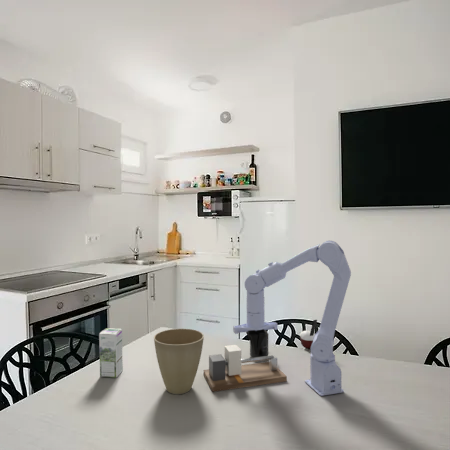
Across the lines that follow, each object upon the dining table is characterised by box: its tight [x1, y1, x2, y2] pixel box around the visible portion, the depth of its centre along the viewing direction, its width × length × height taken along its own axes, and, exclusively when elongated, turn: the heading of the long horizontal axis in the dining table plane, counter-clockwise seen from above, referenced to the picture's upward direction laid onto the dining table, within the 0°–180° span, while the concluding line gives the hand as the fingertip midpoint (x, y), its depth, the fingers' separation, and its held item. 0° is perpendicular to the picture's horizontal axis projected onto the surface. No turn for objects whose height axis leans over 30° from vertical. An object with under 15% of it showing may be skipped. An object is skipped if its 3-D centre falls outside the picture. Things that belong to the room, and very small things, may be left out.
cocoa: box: [299, 319, 318, 350], centre depth 141 cm, size 10×6×12 cm, turn 177°
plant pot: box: [153, 328, 205, 395], centre depth 108 cm, size 15×15×16 cm
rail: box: [225, 355, 278, 371], centre depth 115 cm, size 2×20×5 cm, turn 106°
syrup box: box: [98, 327, 124, 378], centre depth 117 cm, size 6×6×14 cm
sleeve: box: [224, 344, 242, 376], centre depth 113 cm, size 5×4×8 cm
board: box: [203, 361, 288, 393], centre depth 114 cm, size 12×24×2 cm, turn 106°
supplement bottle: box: [249, 330, 269, 358], centre depth 132 cm, size 7×7×12 cm
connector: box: [208, 353, 225, 381], centre depth 112 cm, size 5×4×6 cm
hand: (255, 353), depth 115 cm, fingers closed
